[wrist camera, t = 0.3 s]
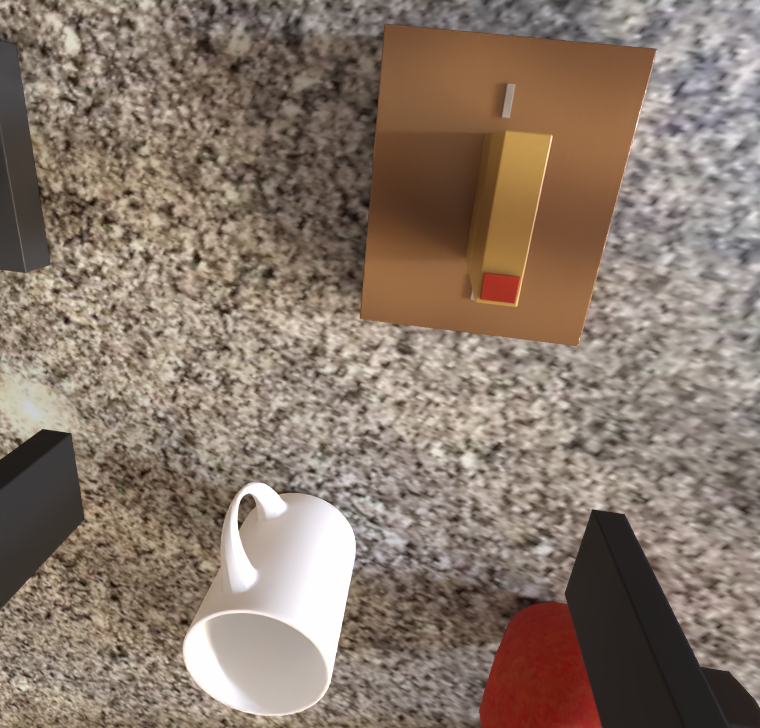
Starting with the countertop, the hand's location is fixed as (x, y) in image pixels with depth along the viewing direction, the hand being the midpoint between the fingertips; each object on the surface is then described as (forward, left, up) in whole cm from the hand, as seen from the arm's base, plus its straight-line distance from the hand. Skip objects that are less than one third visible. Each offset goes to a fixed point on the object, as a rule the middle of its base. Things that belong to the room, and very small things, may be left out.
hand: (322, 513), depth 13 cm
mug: (+18, -5, -20) cm, 27 cm away
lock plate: (-6, +5, -20) cm, 21 cm away
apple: (+24, +15, -20) cm, 34 cm away
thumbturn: (-6, +5, -17) cm, 19 cm away
